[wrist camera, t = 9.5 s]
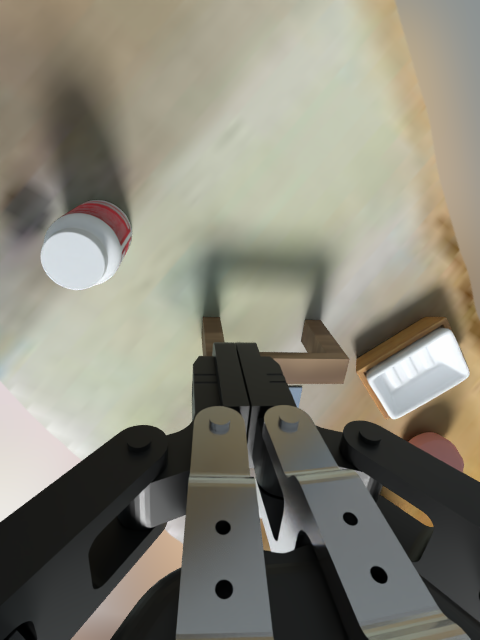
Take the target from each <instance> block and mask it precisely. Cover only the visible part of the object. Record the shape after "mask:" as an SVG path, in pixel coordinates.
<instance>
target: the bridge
mask: <svg viewBox="0 0 480 640" xmlns="http://www.w3.org/2000/svg"><path fill="white" fill-rule="evenodd" d="M214 342H224V337H223V331H222V326H221V321H220V317H203V327H202V348H203V356H212V352H213V343H214ZM301 342H302V344H303V345H304V347H305V349H306V351H307V352H308V353H287V352H259V353H260V356H270V357H272V358H273V359H274V360H275V361H276V362H277V363H278V364H279V365H280V367H281V370H282V372H283V375H284V377H285V379H286V383H287V384H343V383H344V379H345V375H346V371H347V367H348V363H349V358H348V357H347V355H346V354H345V353H344V351H343V350H342V349H341V347H340V346H339V344H338V343H337V342H336V340H335V339H334V338H333V336H332V335H331V334H330V332H329V331H328V330H327V328H326V327H325V326H324V324H323V323H322V321H321V320H305V323H304V328H303V334H302V339H301Z"/></svg>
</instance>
